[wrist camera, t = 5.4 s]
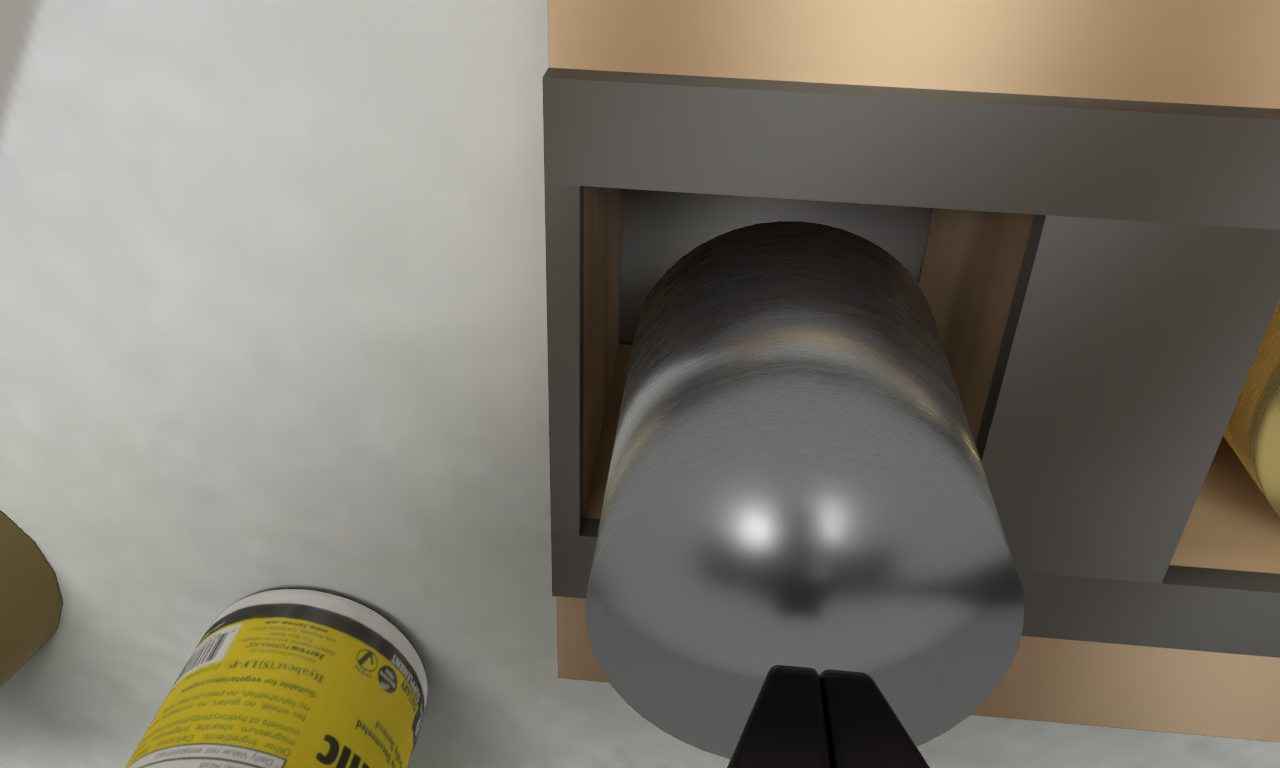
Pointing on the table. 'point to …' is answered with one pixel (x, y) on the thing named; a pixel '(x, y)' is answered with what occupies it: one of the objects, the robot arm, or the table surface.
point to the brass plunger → (1261, 417)
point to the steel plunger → (796, 494)
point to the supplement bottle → (292, 690)
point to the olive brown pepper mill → (24, 598)
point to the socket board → (982, 290)
